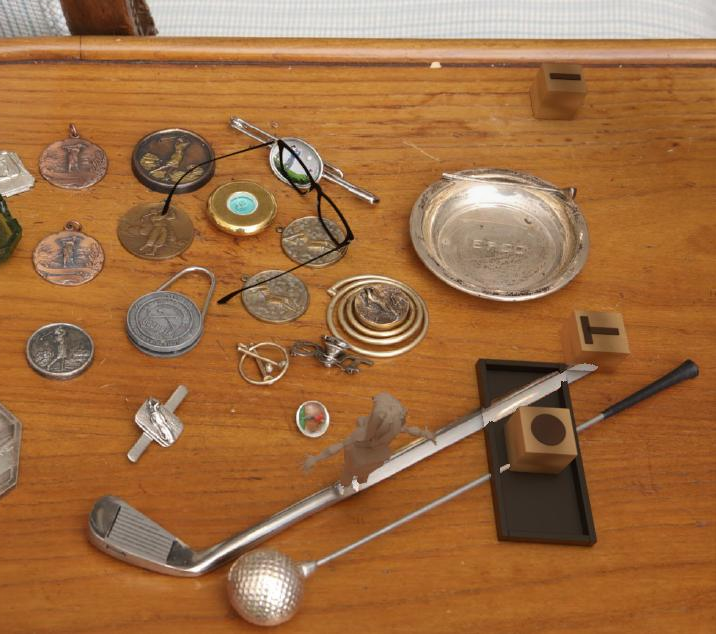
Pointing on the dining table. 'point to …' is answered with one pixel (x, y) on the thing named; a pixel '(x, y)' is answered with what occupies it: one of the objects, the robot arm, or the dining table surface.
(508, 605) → the dining table surface
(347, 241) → the eyeglasses
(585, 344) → the wooden letter block
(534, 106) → the letter I
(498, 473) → the letter tray
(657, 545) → the dining table surface
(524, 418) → the wooden block with dot
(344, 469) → the human figurine
